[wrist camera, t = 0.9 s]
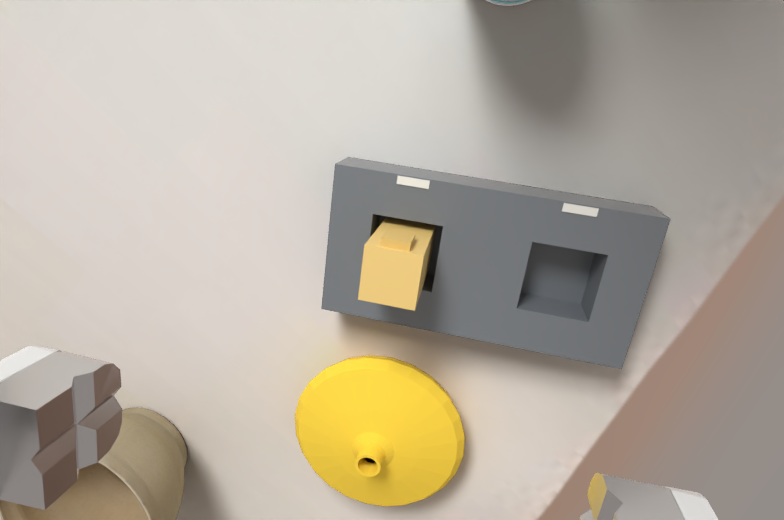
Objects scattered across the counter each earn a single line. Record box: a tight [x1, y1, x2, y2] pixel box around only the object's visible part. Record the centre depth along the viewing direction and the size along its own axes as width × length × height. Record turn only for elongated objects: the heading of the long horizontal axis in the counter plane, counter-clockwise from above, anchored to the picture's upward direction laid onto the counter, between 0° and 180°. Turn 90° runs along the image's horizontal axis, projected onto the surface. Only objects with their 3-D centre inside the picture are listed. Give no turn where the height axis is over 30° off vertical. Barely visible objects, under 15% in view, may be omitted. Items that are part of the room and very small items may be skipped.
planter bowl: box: [0, 408, 187, 520], centre depth 51 cm, size 16×16×11 cm
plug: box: [358, 217, 436, 311], centre depth 39 cm, size 5×4×9 cm
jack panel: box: [322, 157, 670, 369], centre depth 41 cm, size 12×24×4 cm, turn 82°
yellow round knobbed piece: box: [295, 355, 465, 506], centre depth 46 cm, size 16×16×7 cm
